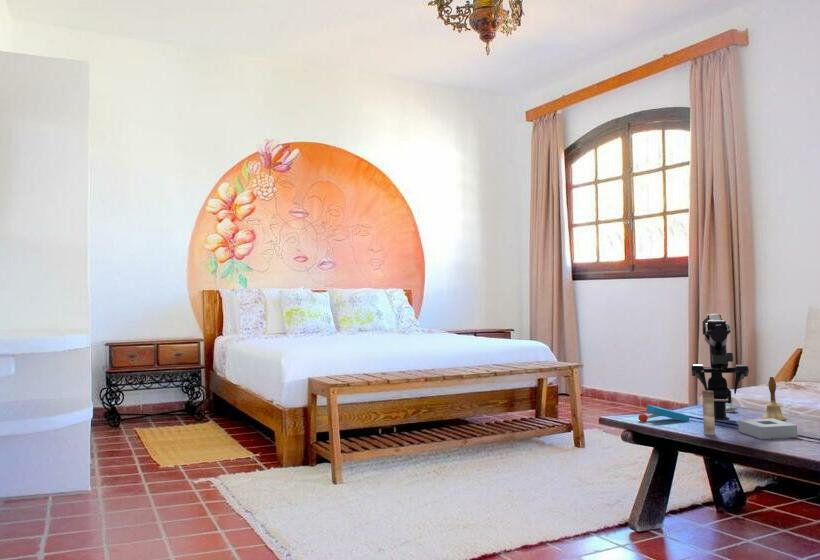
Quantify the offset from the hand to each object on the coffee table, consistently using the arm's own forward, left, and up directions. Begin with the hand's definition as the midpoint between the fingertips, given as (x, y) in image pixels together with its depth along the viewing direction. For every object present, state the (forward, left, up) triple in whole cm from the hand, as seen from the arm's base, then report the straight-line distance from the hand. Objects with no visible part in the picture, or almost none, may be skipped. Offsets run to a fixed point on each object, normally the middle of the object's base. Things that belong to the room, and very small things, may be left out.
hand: (720, 393), depth 246 cm
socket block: (+5, +13, -13) cm, 20 cm away
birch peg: (+5, -6, -13) cm, 15 cm away
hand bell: (-24, +25, -14) cm, 37 cm away
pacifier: (-40, +13, -14) cm, 44 cm away
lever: (-20, -17, -14) cm, 29 cm away
